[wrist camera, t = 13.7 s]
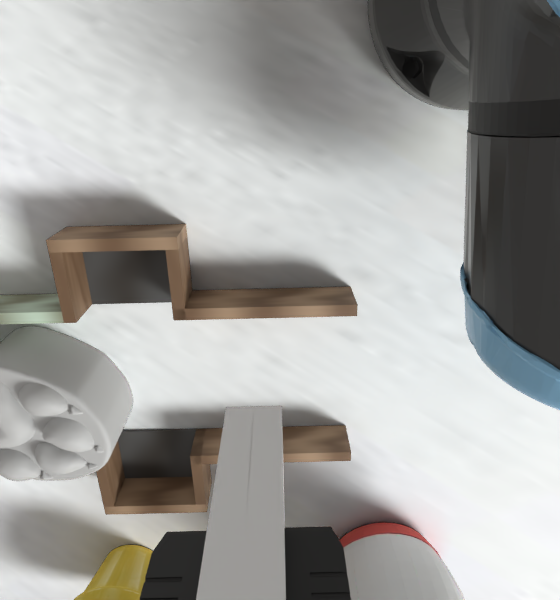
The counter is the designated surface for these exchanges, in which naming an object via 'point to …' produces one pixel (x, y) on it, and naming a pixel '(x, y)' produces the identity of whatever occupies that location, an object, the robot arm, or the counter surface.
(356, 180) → the counter surface
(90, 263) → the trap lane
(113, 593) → the plant pot
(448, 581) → the citrus juicer
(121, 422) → the lumpy-topped squat cylinder
